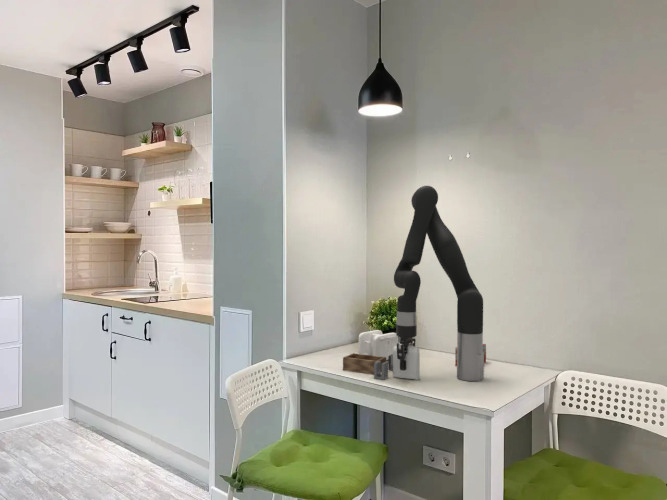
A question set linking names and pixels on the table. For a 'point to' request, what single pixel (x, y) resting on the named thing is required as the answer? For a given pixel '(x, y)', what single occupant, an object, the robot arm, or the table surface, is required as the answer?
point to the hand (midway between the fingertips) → (406, 368)
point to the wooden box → (361, 363)
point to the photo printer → (407, 364)
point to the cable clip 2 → (390, 362)
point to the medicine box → (483, 351)
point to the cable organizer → (377, 343)
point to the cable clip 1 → (378, 370)
